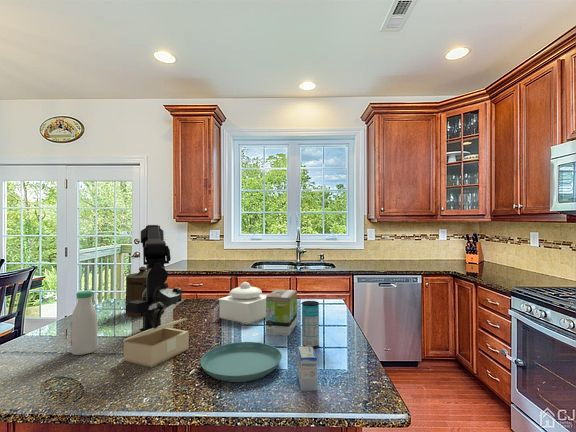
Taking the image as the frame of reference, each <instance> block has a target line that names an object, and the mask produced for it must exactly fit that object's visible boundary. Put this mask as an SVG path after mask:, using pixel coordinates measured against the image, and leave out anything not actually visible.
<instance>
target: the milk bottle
mask: <svg viewBox="0 0 576 432" xmlns="http://www.w3.org/2000/svg"><path fill="white" fill-rule="evenodd" d="M92 298H93V291H92V290H83V291H78V292H77V293H76V301H77V302H76V305H75V308H74V310H73V312H72V314H71V318H70V353H71V355H73V356H82V355H87V354H91V353H93V352H95V351H97V349H98V313H97V312H98V311H97V310H96V308H95V306H94V303H93V301H92Z"/></svg>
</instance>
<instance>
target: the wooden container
mask: <svg viewBox="0 0 576 432" xmlns="http://www.w3.org/2000/svg"><path fill="white" fill-rule="evenodd" d="M143 284H146V266H140V267H139V268H138V272H136V273H129V274H127V275H125V302H124V303H125V305H124V306H125V309H124V310H125V315H126V316H127V317H132V316H140V313H132V312H126V304H127V303H128V302H131V301H135V300H140V301H142V296H143V294H144V292H145V291H146V287H143Z"/></svg>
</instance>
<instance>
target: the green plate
mask: <svg viewBox="0 0 576 432" xmlns="http://www.w3.org/2000/svg"><path fill="white" fill-rule="evenodd" d="M282 356H283V355H282V352H281V350H280V349H278V348H277V347H276V346H273V345H271V344H268V343H263V342H257V341H256V342H255V341H237V342H231V343H226V344H222V345H218V346H216V347H214V348H212V349H210V350H208V351H207V352H205V353H204V354H203V355H202V356H201V357H200V358H201V359H200V365H201V368H202V369H203V371H204V372H205V373H206V374H207V375H209V377H211V378H214V379H217V380H219V381H223V382H230V383H244V382H251V381H254V380H255V381H256V380H258V379H261V378H263V377H265V376H267V375H269V374H270V373H271V372H273V371H274V370H275V369H276V368H277V367H278V366H279V364H280V363H281V361H282V358H283V357H282Z"/></svg>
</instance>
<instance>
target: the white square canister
mask: <svg viewBox="0 0 576 432" xmlns="http://www.w3.org/2000/svg"><path fill="white" fill-rule="evenodd" d="M268 295H269V294H263V292H262V289H260V288H259V287H257V286H256V287H255V286H251V284H250V283H249V282H248V281H244V282H242V283H240V285H239V286H238V287H234V288H232V289H231V290H230V291H229V295H227V296H224V297H221V298H218V299H217V300H218V301H219V303H218V304H219V310H218V312H219V313H218V314H219V316H218V317H219V318H218V319H223V320H226V321H227V320H228V321H233V322H235V323H242V324H246V325H252V324H253V323H256V322H258V321H261V320H263V319H266V296H268Z"/></svg>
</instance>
